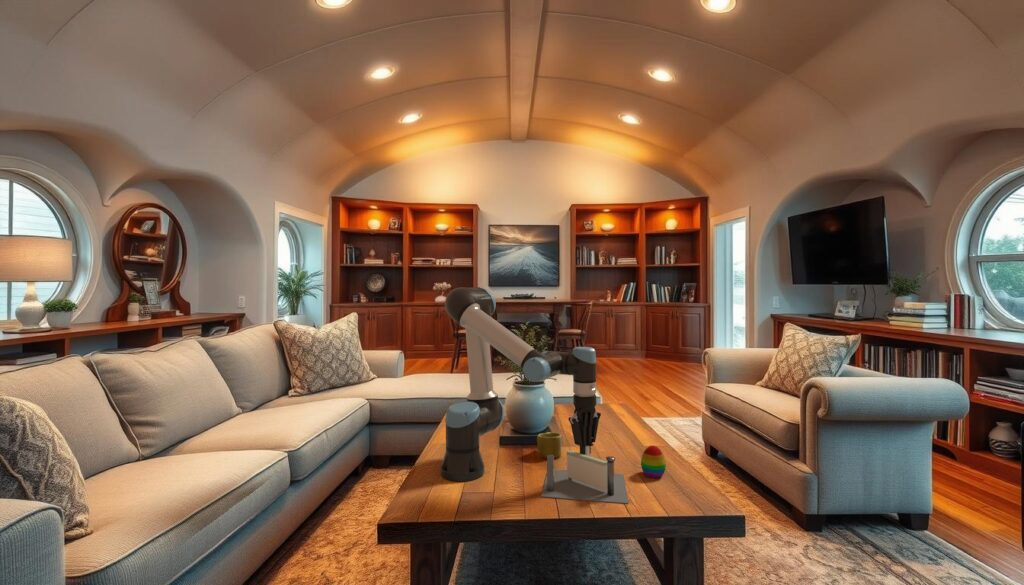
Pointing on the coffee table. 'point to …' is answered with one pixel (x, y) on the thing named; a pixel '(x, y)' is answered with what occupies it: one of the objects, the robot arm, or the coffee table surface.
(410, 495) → the coffee table surface
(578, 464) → the gate
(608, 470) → the hinge post
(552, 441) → the mug
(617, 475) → the mat
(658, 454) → the decorative egg
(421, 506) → the coffee table surface
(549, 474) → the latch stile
